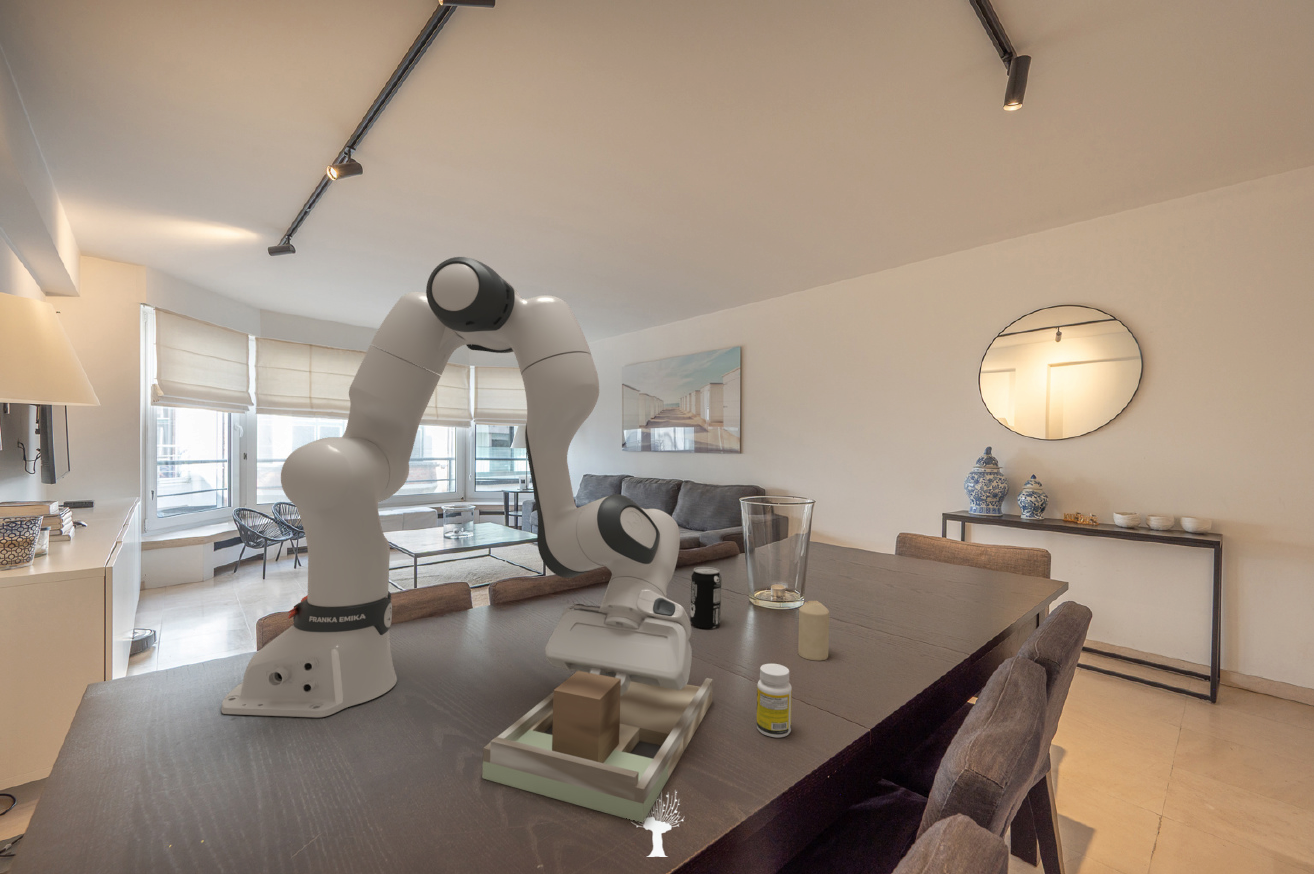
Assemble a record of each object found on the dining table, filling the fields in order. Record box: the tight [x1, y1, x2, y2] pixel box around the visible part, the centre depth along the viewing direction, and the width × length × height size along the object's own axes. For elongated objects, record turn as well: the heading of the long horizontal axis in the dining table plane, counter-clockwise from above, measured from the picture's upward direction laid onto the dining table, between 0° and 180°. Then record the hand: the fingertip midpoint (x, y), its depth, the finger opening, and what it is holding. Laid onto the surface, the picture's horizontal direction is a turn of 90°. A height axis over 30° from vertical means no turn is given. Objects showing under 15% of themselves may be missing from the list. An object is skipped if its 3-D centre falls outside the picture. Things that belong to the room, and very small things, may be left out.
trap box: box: [482, 677, 714, 804], centre depth 74 cm, size 29×20×4 cm
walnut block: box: [552, 671, 621, 763], centre depth 67 cm, size 6×6×8 cm
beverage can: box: [689, 566, 723, 630], centre depth 121 cm, size 7×7×12 cm
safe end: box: [481, 730, 669, 823], centre depth 64 cm, size 8×20×2 cm, turn 70°
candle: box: [797, 600, 830, 662], centre depth 105 cm, size 6×6×10 cm
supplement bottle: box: [756, 663, 793, 739], centre depth 77 cm, size 5×5×8 cm
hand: (599, 709), depth 70 cm, fingers closed, pressing on walnut block
